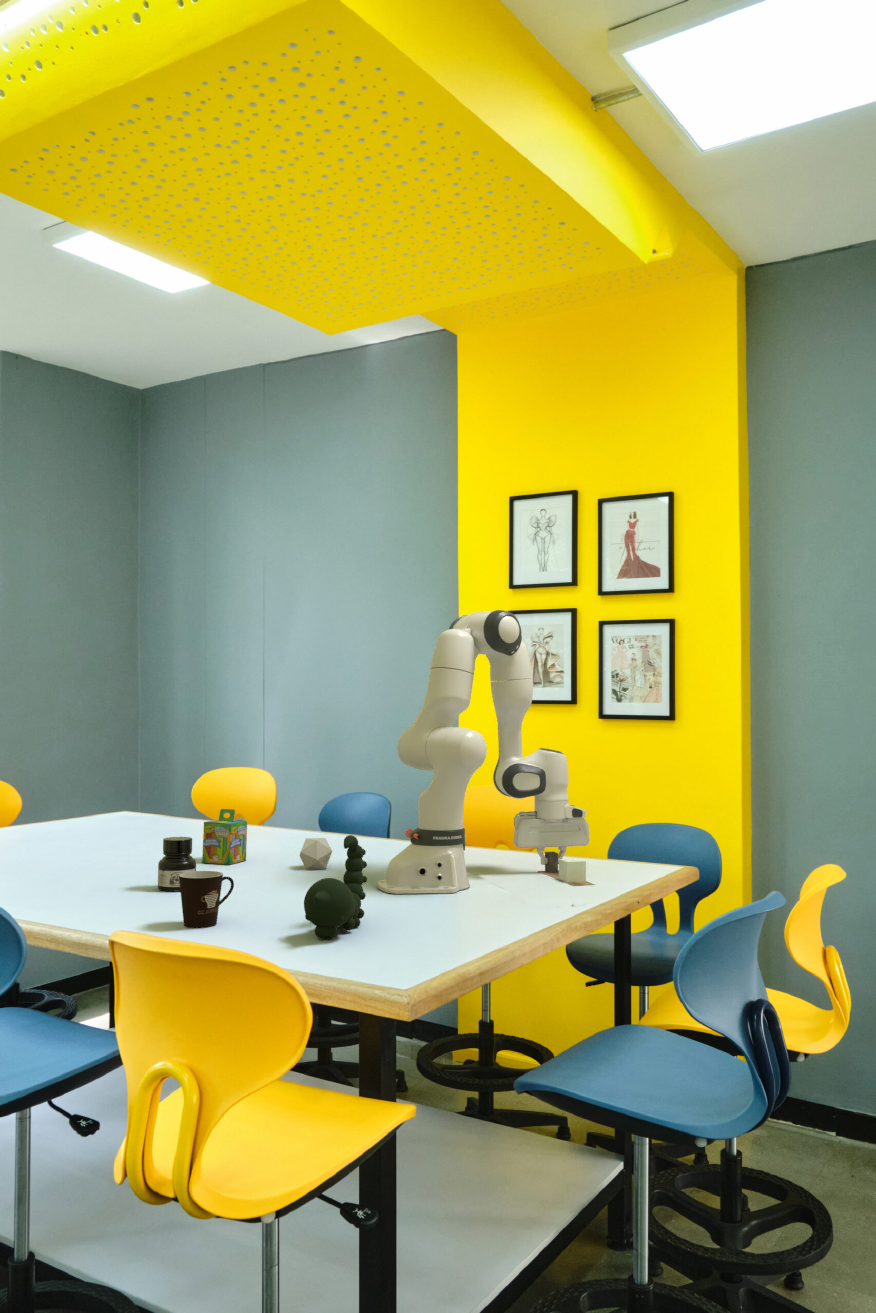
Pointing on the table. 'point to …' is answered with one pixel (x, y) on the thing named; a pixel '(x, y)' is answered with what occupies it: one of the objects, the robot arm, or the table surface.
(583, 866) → the cube
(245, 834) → the chalk box
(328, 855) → the die
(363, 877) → the toy figurine
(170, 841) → the ink bottle
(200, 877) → the coffee mug
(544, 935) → the table surface
